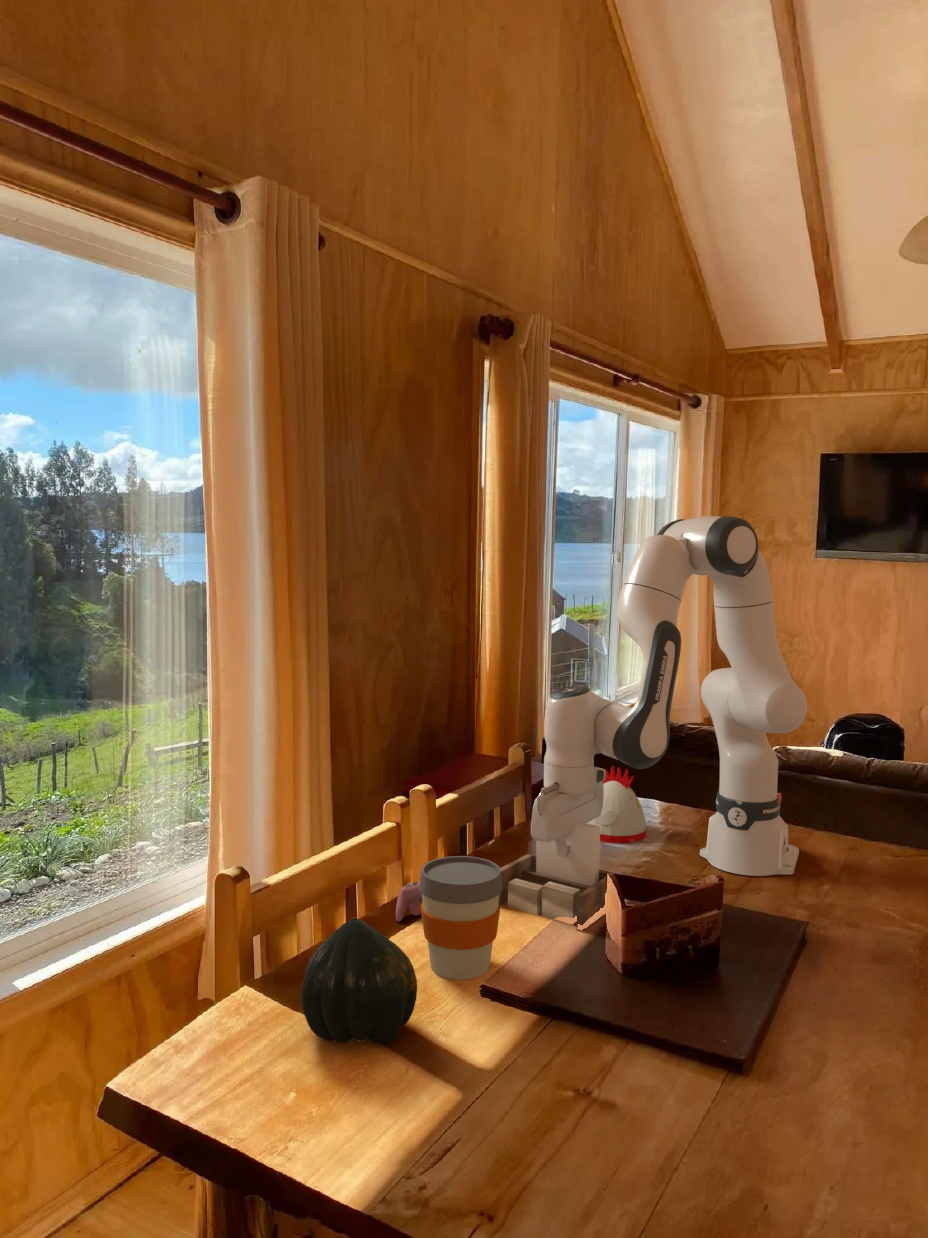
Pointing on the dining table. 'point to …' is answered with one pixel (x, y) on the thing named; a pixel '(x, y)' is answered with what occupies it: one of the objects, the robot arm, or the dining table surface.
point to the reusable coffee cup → (460, 914)
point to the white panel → (572, 856)
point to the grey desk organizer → (526, 870)
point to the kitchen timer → (620, 811)
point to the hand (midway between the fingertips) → (567, 853)
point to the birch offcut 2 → (559, 901)
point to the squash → (358, 986)
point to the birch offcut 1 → (525, 896)
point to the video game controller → (409, 900)
